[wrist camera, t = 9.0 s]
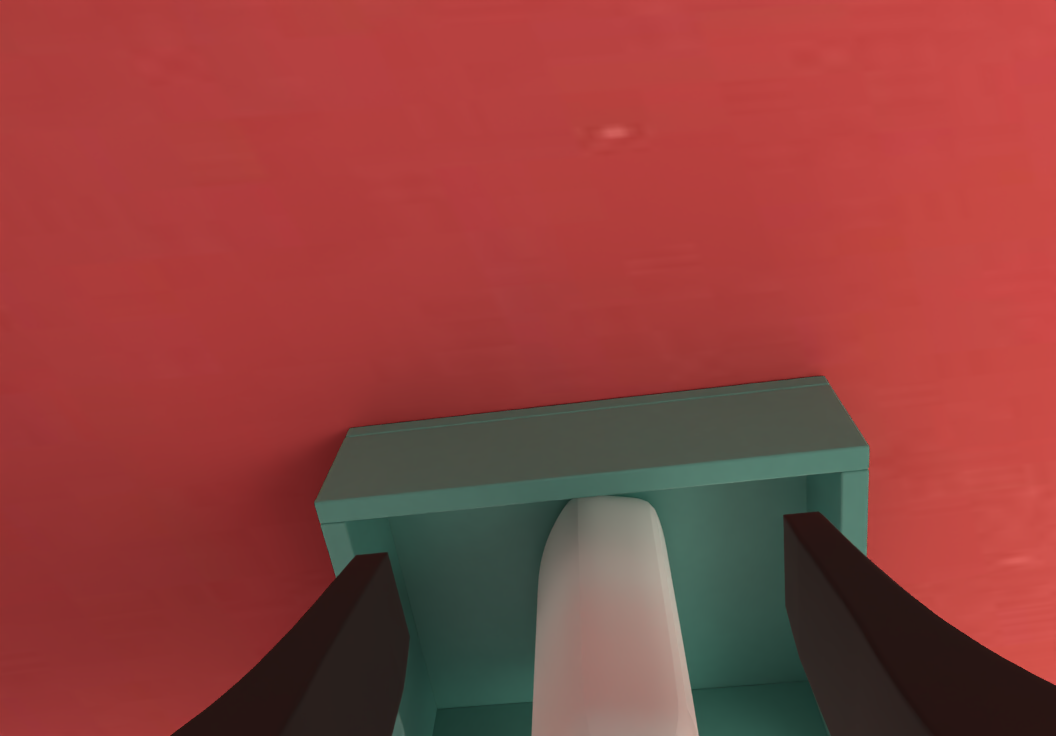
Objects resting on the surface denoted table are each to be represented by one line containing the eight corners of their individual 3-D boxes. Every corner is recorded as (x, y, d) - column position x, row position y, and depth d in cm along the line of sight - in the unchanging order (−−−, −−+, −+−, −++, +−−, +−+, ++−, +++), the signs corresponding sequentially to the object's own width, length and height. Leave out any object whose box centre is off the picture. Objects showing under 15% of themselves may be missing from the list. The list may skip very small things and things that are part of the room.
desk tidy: (824, 681, 25) (861, 782, 22) (424, 711, 26) (405, 812, 23) (824, 374, 21) (870, 445, 18) (348, 427, 22) (312, 503, 19)
